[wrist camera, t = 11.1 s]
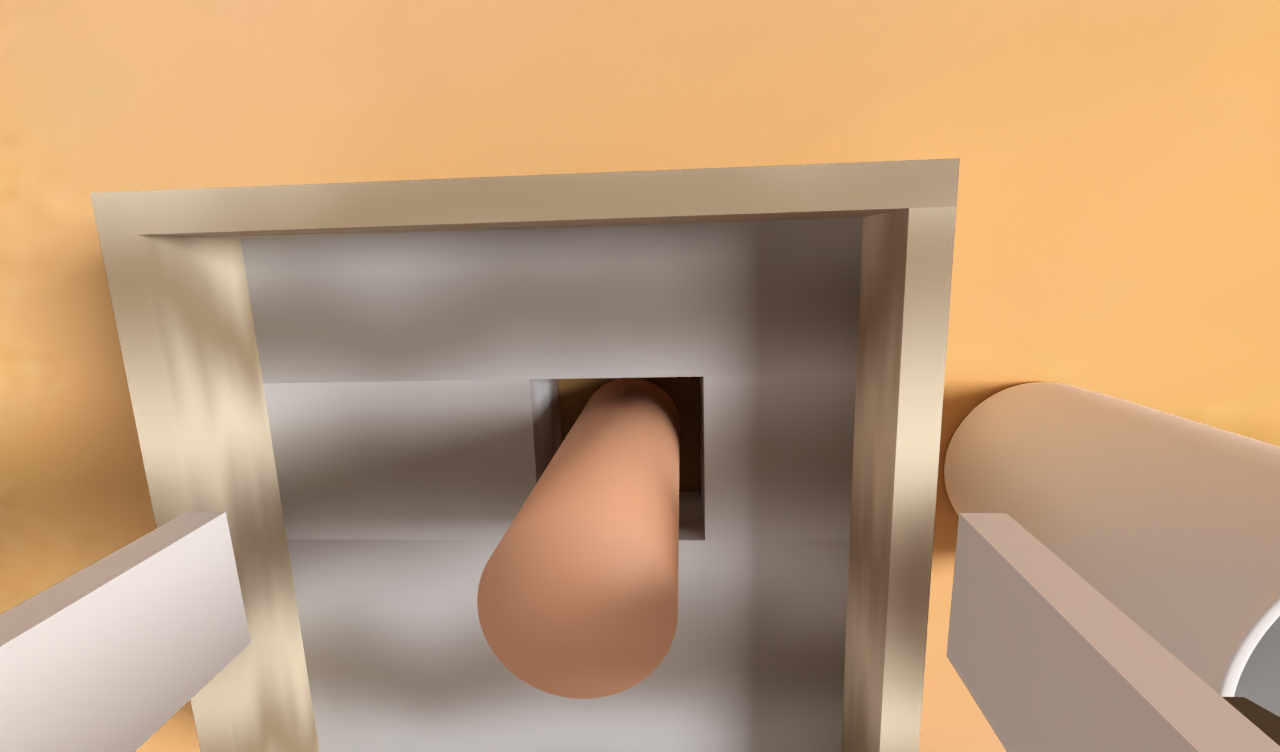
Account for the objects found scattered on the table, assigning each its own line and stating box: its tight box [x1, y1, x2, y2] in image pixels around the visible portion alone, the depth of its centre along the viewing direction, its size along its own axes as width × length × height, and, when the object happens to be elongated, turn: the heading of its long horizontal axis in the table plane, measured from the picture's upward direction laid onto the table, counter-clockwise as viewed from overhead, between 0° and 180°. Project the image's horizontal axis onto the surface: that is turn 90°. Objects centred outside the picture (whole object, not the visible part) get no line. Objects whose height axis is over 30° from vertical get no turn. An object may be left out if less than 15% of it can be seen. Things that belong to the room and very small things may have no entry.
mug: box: [944, 382, 1280, 717], centre depth 16 cm, size 10×7×12 cm, turn 79°
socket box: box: [90, 158, 960, 752], centre depth 19 cm, size 20×20×8 cm
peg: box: [477, 378, 680, 699], centre depth 17 cm, size 4×4×12 cm
